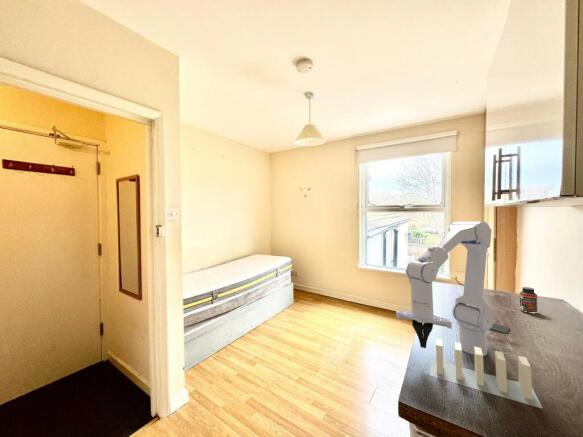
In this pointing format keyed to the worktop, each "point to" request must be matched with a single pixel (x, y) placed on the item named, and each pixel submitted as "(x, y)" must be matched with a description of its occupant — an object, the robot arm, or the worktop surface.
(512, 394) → the board
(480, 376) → the domino
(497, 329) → the smartphone
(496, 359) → the domino
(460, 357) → the domino
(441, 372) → the head domino
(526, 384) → the domino
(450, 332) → the worktop surface
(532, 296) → the supplement bottle
